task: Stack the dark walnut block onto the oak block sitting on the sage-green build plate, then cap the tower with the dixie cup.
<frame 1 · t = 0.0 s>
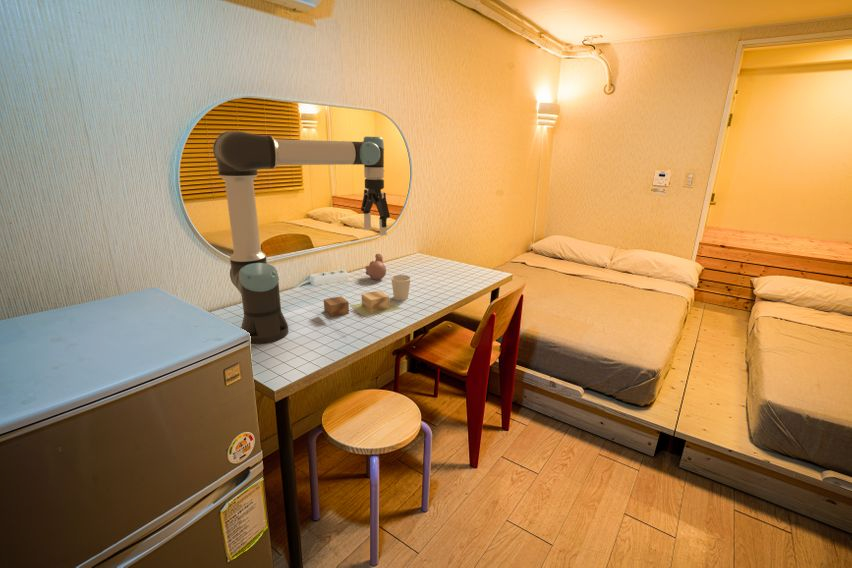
hand: (375, 232, 168), 28 cm above the table, fingers open, 13 cm apart
build plate: (375, 309, 163), on the table
oak block: (375, 307, 162), point 1 cm above the table, touching build plate
dixie cup: (400, 300, 173), on the table
walnut block: (336, 315, 157), on the table
figurine: (375, 279, 200), on the table
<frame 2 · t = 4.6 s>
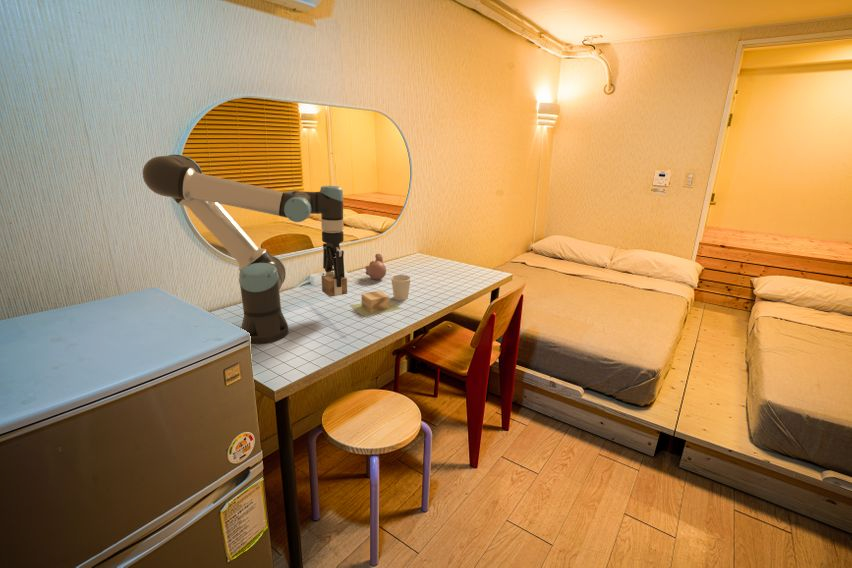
hand: (333, 291, 154), 10 cm above the table, fingers closed on walnut block, 7 cm apart
walnut block: (334, 292, 154), point 9 cm above the table, touching gripper
everything else where it was.
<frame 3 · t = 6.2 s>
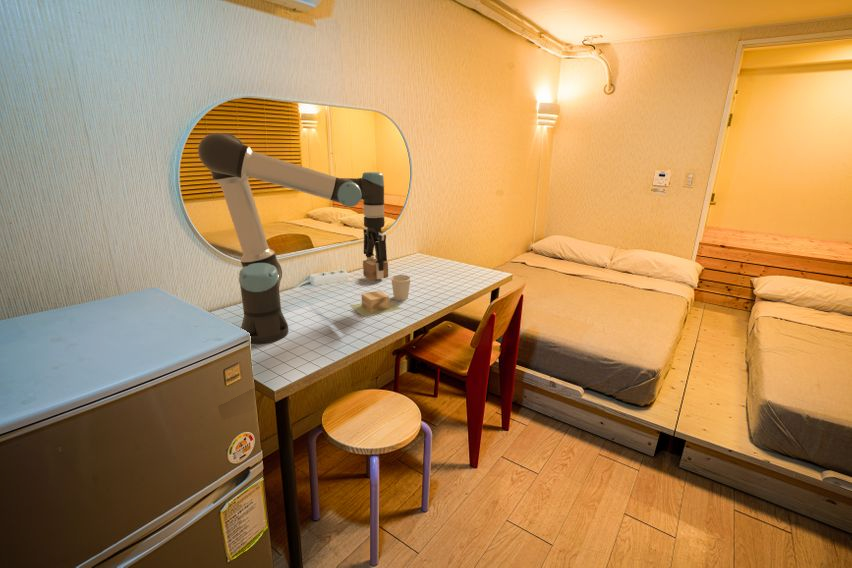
hand: (375, 275, 158), 14 cm above the table, fingers closed on walnut block, 7 cm apart
walnut block: (375, 276, 158), point 14 cm above the table, touching gripper
everything else where it was.
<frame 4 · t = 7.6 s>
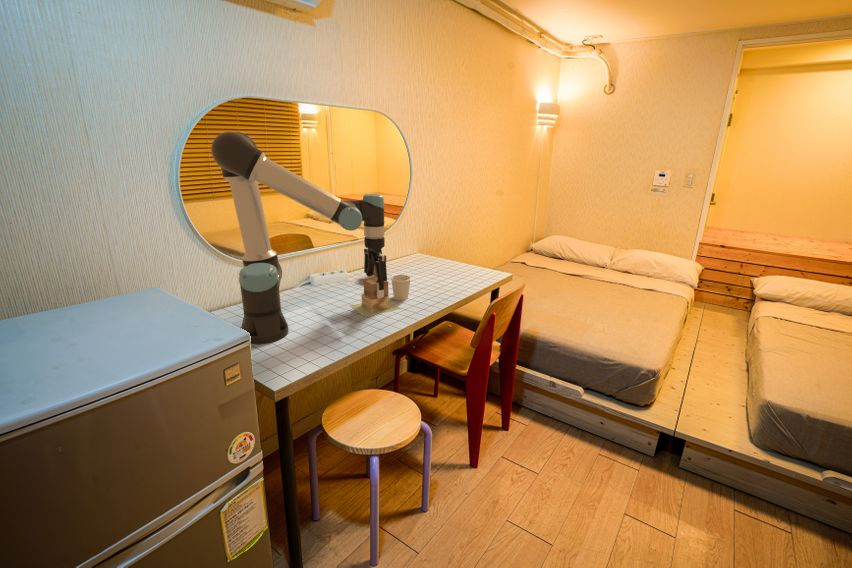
hand: (375, 294, 161), 6 cm above the table, fingers closed on walnut block, 7 cm apart
oak block: (375, 307, 162), point 1 cm above the table, touching build plate, gripper, walnut block
walnut block: (376, 295, 161), point 6 cm above the table, touching gripper, oak block
everything else where it was.
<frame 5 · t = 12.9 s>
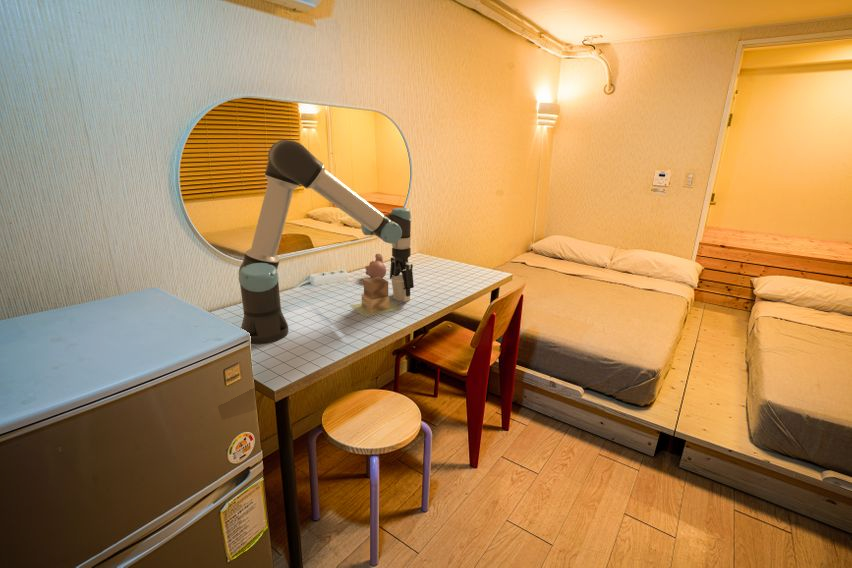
hand: (401, 299, 173), 0 cm above the table, fingers closed on dixie cup, 8 cm apart
oak block: (375, 307, 162), point 1 cm above the table, touching build plate, walnut block
dixie cup: (400, 300, 173), on the table, touching gripper
walnut block: (376, 295, 161), point 6 cm above the table, touching oak block
everything else where it was.
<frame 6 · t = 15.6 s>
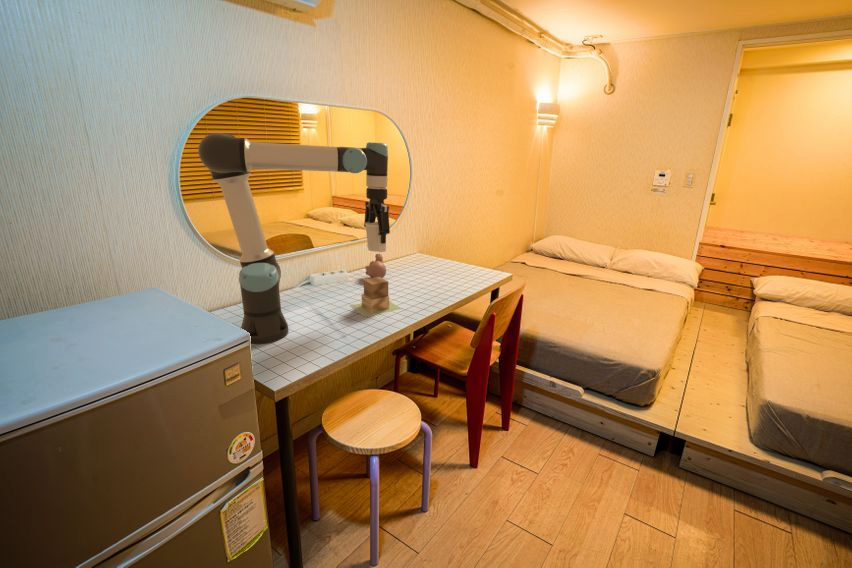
hand: (376, 249, 156), 24 cm above the table, fingers closed on dixie cup, 8 cm apart
dixie cup: (375, 250, 156), point 24 cm above the table, touching gripper
everything else where it was.
when the fingers open (14 cm above the table, at t = 18.3 s): dixie cup drops 1 cm, resting on walnut block.
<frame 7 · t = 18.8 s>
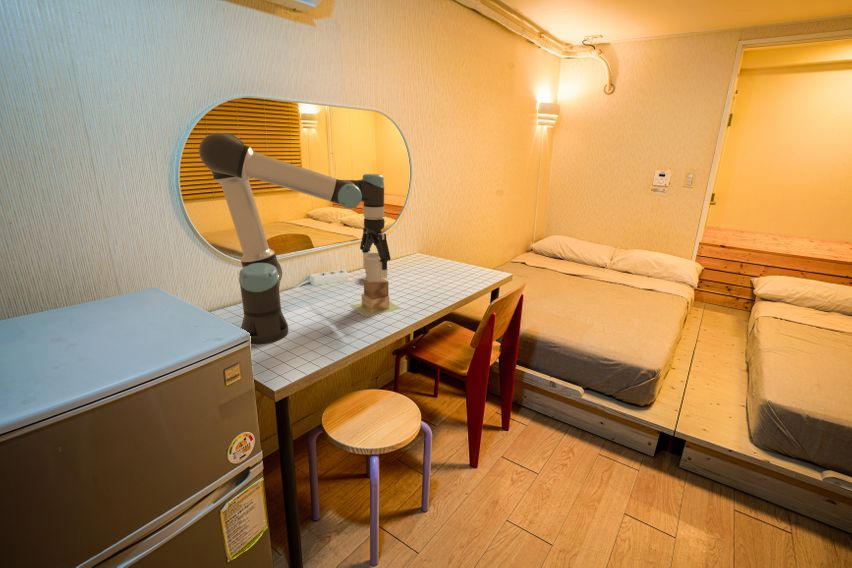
hand: (374, 273, 158), 15 cm above the table, fingers open, 13 cm apart
dixie cup: (374, 281, 159), point 12 cm above the table, touching walnut block
walnut block: (376, 295, 161), point 6 cm above the table, touching dixie cup, oak block
everything else where it was.
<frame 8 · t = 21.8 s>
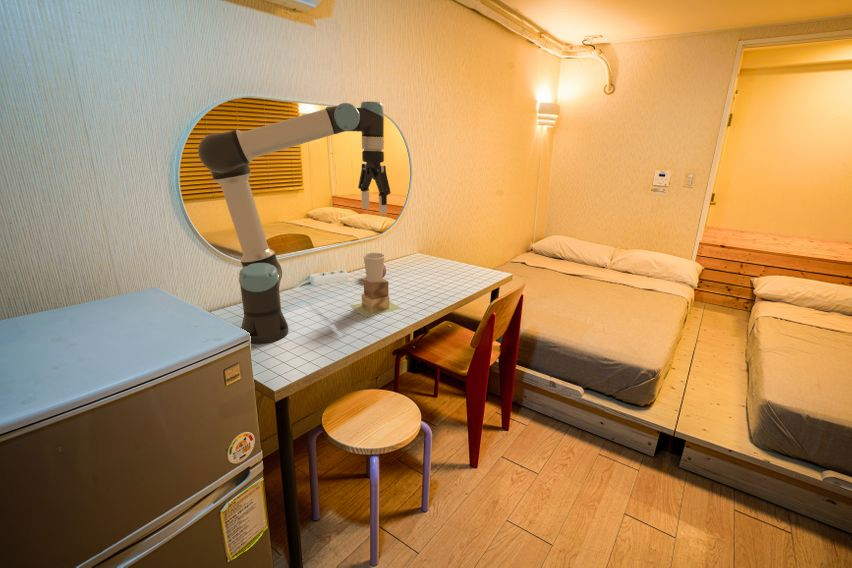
hand: (374, 211, 150), 39 cm above the table, fingers open, 13 cm apart
nothing on the table moved.
at the end: walnut block 0.3 cm off-centre on the oak block, point 5.0 cm above the oak block's base; dixie cup 0.6 cm from the walnut block (horizontally); dixie cup point 12.0 cm above the table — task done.
